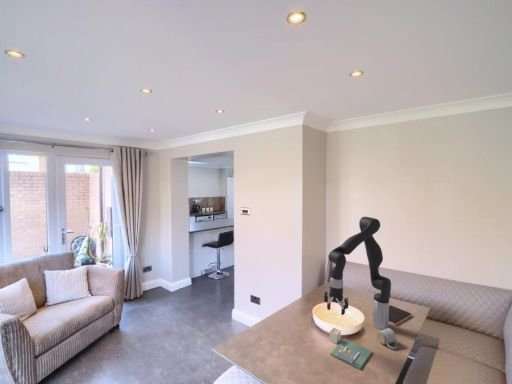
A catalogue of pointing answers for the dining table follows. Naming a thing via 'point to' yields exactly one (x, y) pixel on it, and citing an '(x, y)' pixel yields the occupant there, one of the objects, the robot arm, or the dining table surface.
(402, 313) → the hardcover book
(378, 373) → the dining table surface
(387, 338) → the ceramic mug
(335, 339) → the plug block
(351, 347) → the header board
